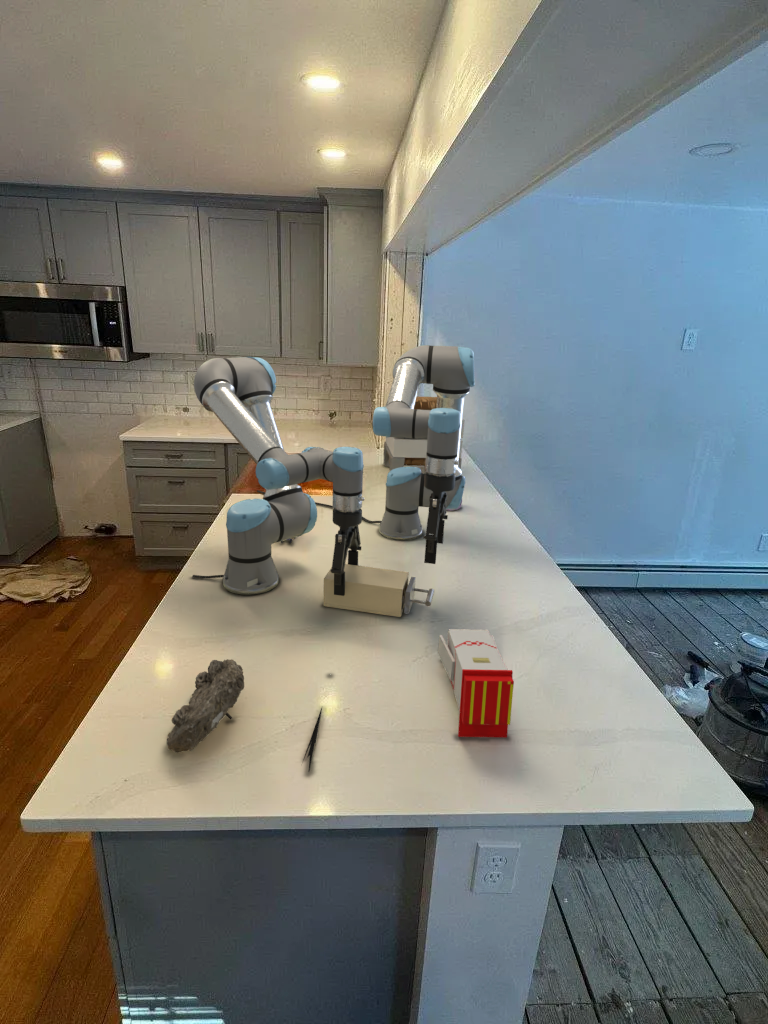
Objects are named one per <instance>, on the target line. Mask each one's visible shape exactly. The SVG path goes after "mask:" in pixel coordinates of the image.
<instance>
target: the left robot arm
mask: <svg viewBox="0 0 768 1024" xmlns="http://www.w3.org/2000/svg"><path fill="white" fill-rule="evenodd" d="M276 377H277V376H276V374H275V371H274V369H273V367H272V366H271V364H270V363H269V362H268V361H267V360H265V359H263V358H262V357H255V356H244V357H243V356H242V357H215V358H211V359H208V360H206V361H204V362H203V363H202V364H201V365H200V366H199V367H198V369H197V370H196V372H195V374H194V379H193V389H194V394H195V396H196V398H197V400H198V401H199V403H200V404H201V406H202V407H203V408H204V409H205V410H206V411H208V412H211V413H213V414H214V415H215V416H216V417H217V419H218V420H219V421H220V422H221V423H222V425H223V427H225V429H227V431H228V432H229V433H230V435H231V436H232V437H233V438H234V439H235V440H236V441H237V443H238V445H240V446H241V448H242V449H243V450H244V451H245V452H246V453H247V455H248V456H249V458H251V459H252V461H253V462H254V463H255V465H256V466H255V477H256V479H257V482H258V484H259V485H260V487H262V489H264V490H265V494H263V497H262V498H252V499H251V498H248V499H243V500H240V501H237V502H235V503H234V504H232V505H231V506H230V507H229V508H228V509H227V511H226V522H225V526H226V534H227V535H226V536H227V552H228V560H227V563H226V566H225V570H224V573H223V574H217V575H216V574H215V575H214V574H213V575H198V574H192V576H191V577H192V578H193V579H195V578H196V579H205V580H206V579H207V580H208V579H217V578H218V579H219V578H220V579H221V578H222V584H223V588H224V589H225V590H226V591H228V592H230V593H233V594H236V595H242V596H252V595H260V594H264V593H267V592H269V591H271V590H273V589H275V588H276V587H277V586H278V584H279V578H280V577H279V572H278V570H277V567H276V565H275V564H276V563H275V562H274V559H273V557H272V556H273V555H272V546H273V545H274V544H277V543H281V541H283V542H284V541H288V540H287V539H289V540H290V538H294V537H295V538H298V537H301V536H303V535H305V534H308V533H310V532H311V531H312V530H313V529H314V528H315V526H316V522H317V520H318V508H317V505H316V504H315V502H316V501H315V500H314V498H313V497H312V495H310V494H309V493H305V492H304V491H303V488H302V486H301V485H299V484H305V483H309V482H312V481H317V480H324V481H327V482H330V483H332V506H333V508H332V523H333V524H334V525H336V526H338V527H339V530H338V531H337V533H335V535H334V546H333V547H334V549H333V555H332V563H331V567H332V569H331V568H330V569H331V570H330V569H329V570H330V572H331V573H334V595H341V596H344V595H345V572H344V568H345V564H346V562H347V564H350V565H357V566H359V551H362V546H361V536H360V535H361V534H360V529H359V526H360V524H362V522H363V519H362V517H363V509H362V508H363V502H364V501H365V497H364V496H363V484H364V483H363V482H364V481H363V480H364V468H365V465H364V454H363V450H361V449H360V448H358V447H353V446H352V447H351V446H338V447H336V448H335V449H333V451H331V450H328V449H324V448H323V447H320V446H317V447H316V446H308V447H306V448H304V450H302V451H301V452H298V453H292V454H288V453H287V452H286V450H285V448H284V444H283V441H282V439H281V435H280V432H279V429H278V426H277V423H276V419H275V416H274V413H273V410H272V407H271V404H272V401H273V400H274V394H275V392H276V390H277V385H276V383H277V378H276ZM295 538H294V539H295Z"/></svg>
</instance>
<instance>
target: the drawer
mask: <svg viewBox="0 0 768 1024" xmlns="http://www.w3.org/2000/svg"><path fill="white" fill-rule="evenodd" d="M416 579H417V578H416V577H415V576H411V577H410V579H409V581H408V587H407V590H406V595H405V586H404V589H403V594H402V602H403V600H404V597H405V606H404V609H403V614H407V615H409V614H410V612H411V609H412V606H413V604H421V605H425V606H426V607H428V608H430V607H431V605H432V602H433V598H434V595H435V589H433V588H429V589H423V588H416ZM415 592H417V593H426V594H427V595H426V597H425V600H420V599H415V594H416V593H415Z"/></svg>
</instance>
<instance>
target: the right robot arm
mask: <svg viewBox="0 0 768 1024" xmlns="http://www.w3.org/2000/svg"><path fill="white" fill-rule="evenodd" d="M392 378H393V380H392V383H391V387H390V389H389V393H388V396H387V399H386V402H385V406H378V407H376V408H375V409H374V410H373V415H372V433H373V434H374V435H375V436H378V437H385V438H386V437H396V438H413V439H425V440H427V453H426V461H425V466H424V471H425V472H422V469H421V468H420V467H419V466H418V467H417V466H404V467H400V468H396V469H393V470H391V471H390V470H389V471H388V473H387V475H386V482H385V487H386V488H385V504H384V505H385V507H384V508H385V509H384V513H383V515H382V519H381V520H369V519H367V518H366V517H364V516H362V521H364V522H367V523H368V524H369V523H370V524H379V527H378V533H379V534H380V535H381V536H382V537H385V538H387V539H389V540H395V541H410V540H415V539H418V538H420V537H421V536H422V535H423V525H422V524H421V518H420V515H419V508H420V507H421V508H422V507H423V508H428V513H427V514H428V515H427V522H426V528H425V534H424V535H423V536H422V540H425V546H424V547H425V549H424V560H423V561H424V564H431V565H436V563H437V553H438V551H437V550H438V544H441V545H443V543H444V533H445V524H446V523H445V521H446V520H448V519H449V515H447V510H446V509H457V508H458V507H459V506H460V503H461V500H462V501H463V496H464V491H465V485H466V477H465V476H464V475H463V474H462V473H463V471H462V469H461V470H460V468H459V467H458V465H459V461H458V459H459V448H460V439H461V438H460V437H461V426H462V419H463V414H464V403H465V397H466V396H467V395H468V394H470V388H473V387H475V385H476V381H475V379H476V377H475V353H474V350H473V349H472V348H471V347H466V346H465V347H464V346H459V345H457V346H455V345H429V344H424V345H418V346H415V347H412V348H410V349H408V350H407V351H405V352H404V353H403V354H401V356H399V357H398V358H397V360H396V361H395V363H394V365H393V369H392ZM421 384H425V385H432V391H433V393H435V395H436V397H437V405H436V408H435V409H432V410H418V409H414V404H415V400H416V397H417V394H418V391H419V386H420V385H421ZM256 492H257V493H259V494H262V495H265V492H266V491H265V492H264V491H261V490H258V489H257V490H256ZM315 504H316V506H322V507H327V508H331V509H334V508H333V505H331V504H327V503H321V502H316V501H315Z"/></svg>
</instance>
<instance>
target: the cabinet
mask: <svg viewBox="0 0 768 1024" xmlns="http://www.w3.org/2000/svg"><path fill="white" fill-rule="evenodd" d="M331 569H332V566H331V568H330V569H328V572H327V573H326V575H325V576H324V577H323V607H328V608H335V609H342V610H348V611H355V612H360V613H361V612H362V613H369V614H377V615H382V616H383V615H384V616H391V617H397V618H401V617H402V615H403V613H404V610H405V597H404V600H403V602H402V594H403V589H404V586H405V595H406V590H407V587H408V584H409V576H410V573H409V571H404V570H403V571H401V570H394V569H387V568H379V567H373V566H371V567H370V566H365V565H358V566H357V565H350V564H348V563H345V568H344V572H345V595H344V596H341V595H334V573H331V572H330V570H331Z"/></svg>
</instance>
